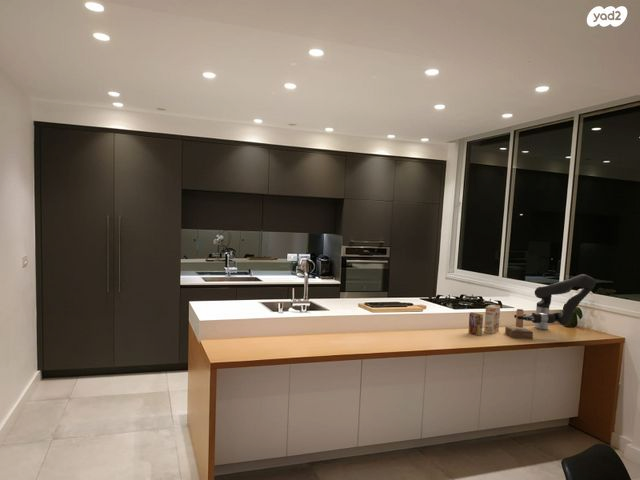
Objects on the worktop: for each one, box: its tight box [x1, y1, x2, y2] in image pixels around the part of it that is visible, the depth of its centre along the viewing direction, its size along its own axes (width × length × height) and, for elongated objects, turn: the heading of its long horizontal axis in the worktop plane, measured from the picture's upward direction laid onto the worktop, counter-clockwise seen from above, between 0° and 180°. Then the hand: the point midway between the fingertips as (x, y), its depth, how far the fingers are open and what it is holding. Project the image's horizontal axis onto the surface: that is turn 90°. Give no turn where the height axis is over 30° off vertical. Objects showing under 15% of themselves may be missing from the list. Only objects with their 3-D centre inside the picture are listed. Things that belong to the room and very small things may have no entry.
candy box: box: [467, 312, 484, 337], centre depth 325 cm, size 9×4×15 cm, turn 39°
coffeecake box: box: [483, 304, 501, 335], centre depth 336 cm, size 15×7×20 cm, turn 143°
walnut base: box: [504, 326, 534, 340], centre depth 326 cm, size 14×14×5 cm
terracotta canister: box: [515, 308, 525, 327], centre depth 326 cm, size 5×5×13 cm
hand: (516, 316), depth 326 cm, fingers closed on terracotta canister, 4 cm apart
